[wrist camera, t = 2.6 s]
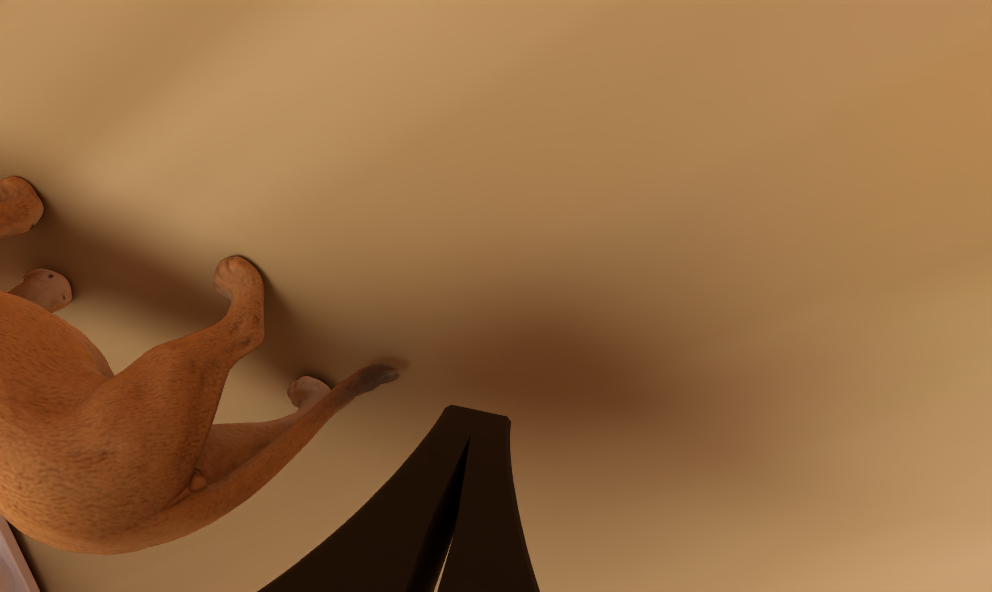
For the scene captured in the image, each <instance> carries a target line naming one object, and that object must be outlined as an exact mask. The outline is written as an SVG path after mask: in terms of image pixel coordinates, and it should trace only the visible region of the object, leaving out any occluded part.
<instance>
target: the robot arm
mask: <svg viewBox="0 0 992 592" xmlns="http://www.w3.org/2000/svg"><path fill="white" fill-rule="evenodd" d="M510 427H511V421H510V420H509V418H508V417H506V416H502V415H497V414H492V413H488V412H483V411H478V410H474V409H469V408H464V407H459V406H455V405H450V406H448V407H446V408H445V409H444V411H443V413H442V414H441V416H440V417H439V419H438V420H437V422H436V423H435V425H434V426H433V428H432V429H431V430H430V432H429V433H428V434H427V436H426V437H425V438H424V439H423V441H422V442H421V443H420V444H419V446H418V447H417V448H416V449H415V451H414V452H413V453H412V454H411V455H410V456H409V458H408V459H407V460H406V461H405V462H404V463H403V465H402V466H401V467H400V468H399V469H398V470H397V471H396V473H395V474H394V475H393V476H392V477H391V478H390V479H389V480H388V481H387V482H386V483H385V484H384V485H383V486H382V487H381V488H380V489H379V490H378V491H377V492H376V493H375V494H374V495H373V497H372V498H371V499H370V500H369V501H368V502H367V503H366V504H365V505H364V506H363V507H362V508H360V509H359V510H358V511H357V512H356V513H355V514H354V515H353V516H352V517H351V518H350V519H349V520H348V521H346V522H345V523H344V524H343V525H342V526H341V527H340V528H339V529H337V530H336V531H335V532H334V533H333V534H332V535H331V536H329V537H328V538H327V539H326V540H325V541H324V542H322V543H321V544H320V545H319V546H317V547H316V548H315V549H314V550H312V551H311V552H310V553H309V554H307V555H306V556H305V557H304V558H302V559H301V560H300V561H299V562H297V563H296V564H295V565H294V566H292V567H291V568H290V569H288V570H287V571H286V572H284V573H283V574H282V575H280V576H279V577H278V578H276V579H275V580H273V581H272V582H271V583H269V584H268V585H266V586H265V587H263V588H262V589H260V590H259V591H257V592H434V589H435V586H436V584H437V581H438V578H439V575H440V572H441V569H442V567H443V564H444V561H445V558H446V555H447V552H448V549H449V546H450V544H451V546H450V550H449V553H448V557H447V560H446V564H445V567H444V571H443V574H442V577H441V581H440V584H439V588H438V591H437V592H540V591H539V588H538V584H537V581H536V578H535V575H534V571H533V568H532V564H531V561H530V557H529V554H528V550H527V546H526V542H525V538H524V534H523V529H522V525H521V521H520V516H519V511H518V506H517V500H516V494H515V488H514V482H513V475H512V466H511V455H510ZM453 535H454V536H453ZM452 538H453V539H452ZM451 541H452V543H451ZM0 592H40V590H39V588H38V586H37V583H36V581H35V579H34V577H33V575H32V573H31V571H30V569H29V567H28V565H27V563H26V561H25V558H24V556H23V554H22V552H21V550H20V548H19V546H18V544H17V542H16V540H15V538H14V535H13V533H12V531H11V529H10V527H9V525H8V523H7V521H6V519H5V518H4V517H3V516H2V515H1V514H0Z"/></svg>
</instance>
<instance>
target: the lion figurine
mask: <svg viewBox="0 0 992 592" xmlns="http://www.w3.org/2000/svg"><path fill="white" fill-rule="evenodd" d="M43 211H44V207H43V203H42V201H41V200H40V198H39V197H38V195H37V193H36V192H35V190H34V189H33V188H32V186H31V185H30V184H29V183H28V182H27V181H25V180H23V179H21V178H19V177H15V176H11V177H8V178H5V179H2V180H0V239H3V238H7V237H11V236H15V235H19V234H23V233H25V232H27V231H29V230H30V229H32V228H33V227H34V224H36V223H37V222H38V220H39V219H40V218H41V216H42V214H43ZM214 288H215V290H216V291H217V292H218V293H219V294H221V295H222V296H224V297H226V298H227V299H229V300H231V306H230V308H229V311H228V312H227V314H226V315H225V317H224V318H223V319H221V320H220V321H219V322H218V323H216V324H214V325H212V326H211V327H208V328H205V329H202V330H200V331H197V332H195V333H192V334H190V335H187V336H185V337H182V338H180V339H177V340H173V341H170V342H166V343H164V344H161V345H158V346H156V347H154V348H152V349H150V350H149V351H147V352H146V353H144V354H143V355H142V356H141V357H139V358H138V359H137V360H136V361H135V362H134V363H132V364H131V365H130V366H129V367H127V368H126V369H125V370H123V371H122V372H120V373H119V374H117V375H115V376H114V374H113V372H112V371H111V369H110V367H109V364H108V362H107V360H106V359H105V357H104V356H103V354H102V353H101V352H100V351H99V349H98V348H97V347H96V346H95V345H94V344H93V343H92V342H91V341H90V340H89V339H88V338H87V337H86V336H85V335H84V334H83V333H82V332H81V331H79V330H78V329H76V328H75V327H73V326H72V325H70V324H69V323H67V322H66V321H64V320H63V319H61V318H59V317H57V316H56V315H54V314H52V313H53V312H55V311H57V310H60V309H62V308H64V307H65V306H66V305H68V304H69V303H70V301H71V300H72V292H71V287H70V283H69V282H68V280H67V279H66V278H65V277H64V276H62V275H61V274H59V273H56V272H54V271H51V270H48V269H42V268H40V269H34V270H31V271H29V272H27V273H25V275H24V282H23V283H21V284H20V285H18V286H17V287H15V288H14V289H12V290H11V291H9V292H8V293H6V292H2V291H0V514H1V515H2V516H3V517H4V518H5V519H6V520H8V521H9V522H10V523H11V524H12V525H13V526H14V527H15V528H17V529H18V530H19V531H20V532H22V533H24V534H26V535H27V536H29V537H31V538H32V539H34V540H37V541H39V542H42V543H44V544H47V545H49V546H52V547H54V548H57V549H60V550H65V551H70V552H78V553H89V554H103V555H111V554H123V553H129V552H135V551H138V550H142V549H145V548H148V547H152V546H155V545H159V544H163V543H166V542H170V541H173V540H175V539H178V538H181V537H184V536H186V535H189V534H191V533H193V532H195V531H197V530H199V529H201V528H203V527H205V526H207V525H209V524H211V523H212V522H214V521H216V520H217V519H219V518H220V517H222V516H224V515H225V514H227V513H228V512H230V511H231V510H233V509H234V508H236V507H237V506H239V505H240V504H242V503H243V502H245V501H246V500H247V499H248V498H250V497H251V496H252V495H253V494H255V493H256V492H257V491H258V490H260V489H261V488H262V487H263V486H264V485H265V484H266V483H267V482H269V481H270V480H271V479H272V478H273V477H274V476H275V475H276V474H277V473H278V472H279V471H280V470H281V469H282V468H283V467H284V466H285V465H286V464H287V463H288V462H289V461H290V460H291V459H292V458H293V457H294V456H295V455H296V454H297V453H298V452H299V451H300V450H301V449H302V448H303V447H304V446H305V445H306V444H307V443H308V442H309V441H310V440H311V439H312V438H313V437H314V435H315V434H316V433H317V432H318V431H319V429H320V428H321V427H322V426H323V425H324V424H325V423H326V422H327V421H328V420H329V419H330V418H331V417H332V416H333V415H334V414H335V413H336V412H337V411H338V410H340V409H341V408H342V407H344V406H345V405H346V404H348V403H349V402H350V401H351V400H353V399H354V398H355V397H356V396H358V395H360V394H362V393H365V392H369V391H372V390H373V389H375V388H376V387H378V386H379V385H381V384H384V383H389V382H392V381H394V380H396V379H398V378H399V376H400V371H399V370H398V369H395V368H392V367H388V366H385V365H383V364H372V365H370V366H368V367H366V368H363V369H361V370H359V371H358V372H356V373H355V374H353V375H352V376H350V377H348V378H347V379H345V380H343V381H341V382H340V383H339V384H338V385H337V386H336V387H335V388H333V389H332V390H330V388H329V387H328V386H327V385H326V384H324V383H323V382H321V381H320V380H318V379H315V378H312V377H309V376H303V377H301V378H299V379H298V380H296V381H294V382H293V383H292V384H291V385H290V386H289V388H288V390H287V392H288V396H289V398H290V399H291V401H292V404H293V405H294V406H295V407H297V408H299V410H298V411H297V412H295V413H293V414H291V415H288V416H286V417H283V418H280V419H277V420H272V421H268V422H260V423H232V424H214V425H212V423H213V420H214V417H215V414H216V411H217V407H218V404H219V401H220V398H221V394H222V391H223V388H224V384H225V381H226V378H227V376H228V373H229V371H230V369H231V368H232V367H233V365H234V364H235V363H236V362H237V361H238V360H239V359H240V358H242V357H243V356H244V355H246V354H247V353H249V352H251V351H252V350H254V349H256V348H257V347H258V346H259V345H260V344H261V343H262V341H263V339H264V323H263V303H264V285H263V281H262V278H261V276H260V274H259V273H258V271H257V270H256V269H255V268H254V267H253V266H252V265H251V264H250V263H249V262H248V261H246V260H245V259H243V258H241V257H238V256H234V257H228V258H225V259H223V260H222V261H221V262H220V263H219V265H218V267H217V269H216V270H215V273H214Z"/></svg>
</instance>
